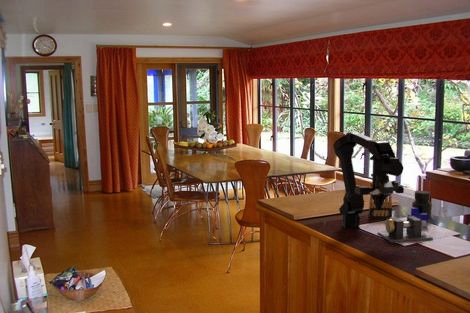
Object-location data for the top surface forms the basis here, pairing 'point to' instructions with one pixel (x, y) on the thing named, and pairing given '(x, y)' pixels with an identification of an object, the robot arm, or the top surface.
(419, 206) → the ink bottle
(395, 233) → the housing
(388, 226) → the shaft
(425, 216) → the cable clip
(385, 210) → the ammunition clip
